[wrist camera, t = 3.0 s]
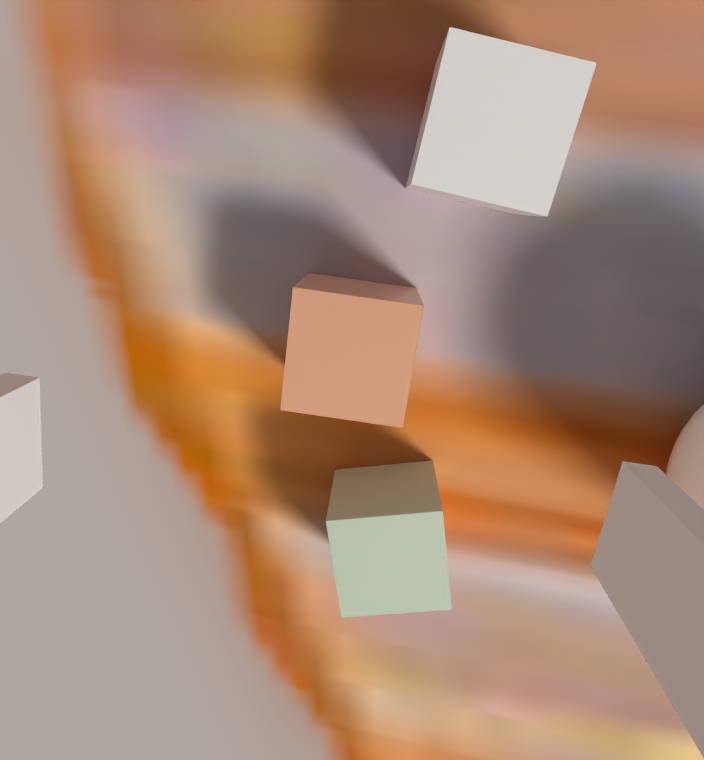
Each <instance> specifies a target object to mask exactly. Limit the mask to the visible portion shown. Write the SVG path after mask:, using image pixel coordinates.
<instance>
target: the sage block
mask: <svg viewBox="0 0 704 760" xmlns="http://www.w3.org/2000/svg"><path fill="white" fill-rule="evenodd" d="M326 526H327V532H328V538H329V544H330V551H331V557H332V563H333V569H334V575H335V582H336V588H337V594H338V600H339V607H340V613H341V617H355V616H369V615H383V614H397V613H411V612H425V611H439V610H452V606H451V595H450V585H449V574H448V563H447V552H446V541H445V530H444V519H443V510H442V505H441V500H440V495H439V490H438V484H437V479H436V474H435V469H434V464H433V460H431V461H421V462H410V463H400V464H389V465H379V466H368V467H358V468H347V469H336V470H335V472H334V478H333V483H332V489H331V494H330V500H329V506H328V511H327V517H326Z"/></svg>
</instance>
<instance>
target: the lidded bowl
mask: <svg viewBox="0 0 704 760" xmlns="http://www.w3.org/2000/svg"><path fill="white" fill-rule="evenodd" d="M666 475H667V476H668V477H669V478H670V479H671V480H672V481H673V482H674V483H675V484H677V485H678V486H679V487H680V488H681V489H682V490H683V491H684V492H685V493H686V494H687V495H688V496H689V497H691V498H692V499H693V500H694V501H695V502H696V503H697V504H698V505H699V506H700V507H701V508H702V509H703V510H704V404H703V405H702V406H701V407H700V408H699V409H698V410H697V411H696V412H695V413H694V414H693V415H692V417H691V418H690V419H689V421H688V422H687V424H686V425H685V426H684V428H683V429H682V431H681V433H680V435H679V436H678V438H677V440H676V442H675V444H674V447H673V450H672V452H671V455H670V458H669V462H668V465H667V471H666Z"/></svg>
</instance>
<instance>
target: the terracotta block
mask: <svg viewBox="0 0 704 760" xmlns="http://www.w3.org/2000/svg"><path fill="white" fill-rule="evenodd" d="M423 308H424V305H423V303H422V300H421V298H420V295H419V293H418V290H417V288H413V287H406V286H399V285H392V284H385V283H378V282H371V281H364V280H357V279H350V278H343V277H336V276H329V275H322V274H315V273H308V274H307V275H306V276H305V277H304V278H303V279H302V280H300V281H299V282H298V283H297V284H296V285H295V286H294V287H293V291H292V301H291V310H290V320H289V330H288V340H287V349H286V359H285V369H284V378H283V388H282V398H281V408H280V410H283V411H290V412H297V413H303V414H310V415H317V416H324V417H331V418H338V419H345V420H352V421H359V422H366V423H372V424H379V425H386V426H393V427H400V428H403V423H404V417H405V412H406V406H407V400H408V394H409V389H410V383H411V377H412V371H413V366H414V360H415V354H416V349H417V343H418V337H419V331H420V326H421V320H422V314H423Z"/></svg>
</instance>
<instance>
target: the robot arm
mask: <svg viewBox="0 0 704 760" xmlns="http://www.w3.org/2000/svg"><path fill="white" fill-rule="evenodd" d="M41 443H42V442H41V410H40V380H39V378H38V377H31V376H24V375H18V374H10V373H4V374H2V375H0V523H1V522H2V521H3V520H5V519H6V518H7V517H8V516H9V515H11V514H12V513H13V512H14V511H15V510H17V508H19V507H20V506H21V505H23V504H24V503H25V502H26V501H27V500H29V499H30V498H31V497H32V496H33V495H35V494H36V493H37V492H38V491H39V490H41V489H42V488H43V476H42V444H41ZM591 568H592V570H593V571H594V573H595V575H596V577H597V578H598V580H599V582H600V583H601V585H602V587H603V588H604V590H605V592H606V593H607V595H608V597H609V599H610V600H611V602H612V604H613V605H614V607H615V609H616V610H617V612H618V614H619V615H620V617H621V619H622V620H623V622H624V624H625V626H626V627H627V629H628V631H629V632H630V634H631V636H632V637H633V639H634V641H635V642H636V644H637V646H638V648H639V649H640V651H641V653H642V654H643V656H644V658H645V659H646V661H647V663H648V664H649V666H650V668H651V669H652V671H653V673H654V675H655V676H656V678H657V680H658V681H659V683H660V685H661V686H662V688H663V690H664V691H665V693H666V695H667V697H668V698H669V700H670V702H671V703H672V705H673V707H674V708H675V710H676V712H677V713H678V715H679V717H680V718H681V720H682V722H683V724H684V725H685V727H686V729H687V730H688V732H689V734H690V735H691V737H692V739H693V740H694V742H695V744H696V746H697V747H698V749H699V751H700V752H701V754H702V756H703V757H704V510H703V509H702V508H701V507H700V506H699V505H698V504H697V503H696V502H695V501H694V500H693V499H692V498H691V497H689V496H688V495H687V494H686V493H685V492H684V491H683V490H682V489H681V488H680V487H679V486H678V485H677V484H675V483H674V482H673V481H672V480H671V479H670V478H669V477H668V476H667V475H666V474H665V473H664V472H663V471H661V470H660V469H659V468H658V467H657V466H653V465H646V464H639V463H632V462H625V461H623V462H622V465H621V468H620V471H619V475H618V478H617V481H616V484H615V488H614V491H613V494H612V498H611V501H610V504H609V507H608V511H607V514H606V517H605V520H604V524H603V527H602V530H601V533H600V537H599V540H598V543H597V547H596V550H595V553H594V556H593V560H592V563H591Z"/></svg>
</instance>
